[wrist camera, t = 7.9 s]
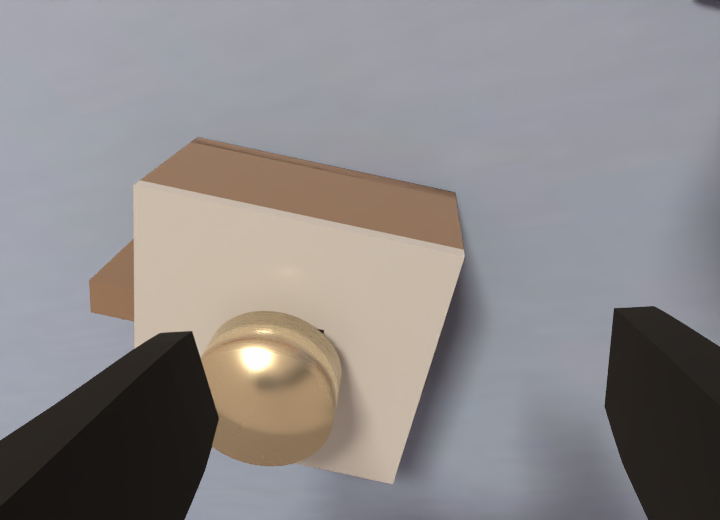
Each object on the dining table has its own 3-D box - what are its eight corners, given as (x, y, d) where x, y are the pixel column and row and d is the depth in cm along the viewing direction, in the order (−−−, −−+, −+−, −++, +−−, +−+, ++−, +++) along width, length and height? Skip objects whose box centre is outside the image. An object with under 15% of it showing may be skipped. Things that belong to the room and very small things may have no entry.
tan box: (455, 192, 19) (464, 256, 15) (397, 390, 23) (392, 484, 19) (146, 126, 19) (67, 171, 15) (144, 336, 23) (83, 418, 19)
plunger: (367, 252, 19) (345, 369, 14) (347, 343, 21) (320, 478, 16) (255, 228, 19) (186, 335, 14) (244, 321, 21) (181, 449, 16)
